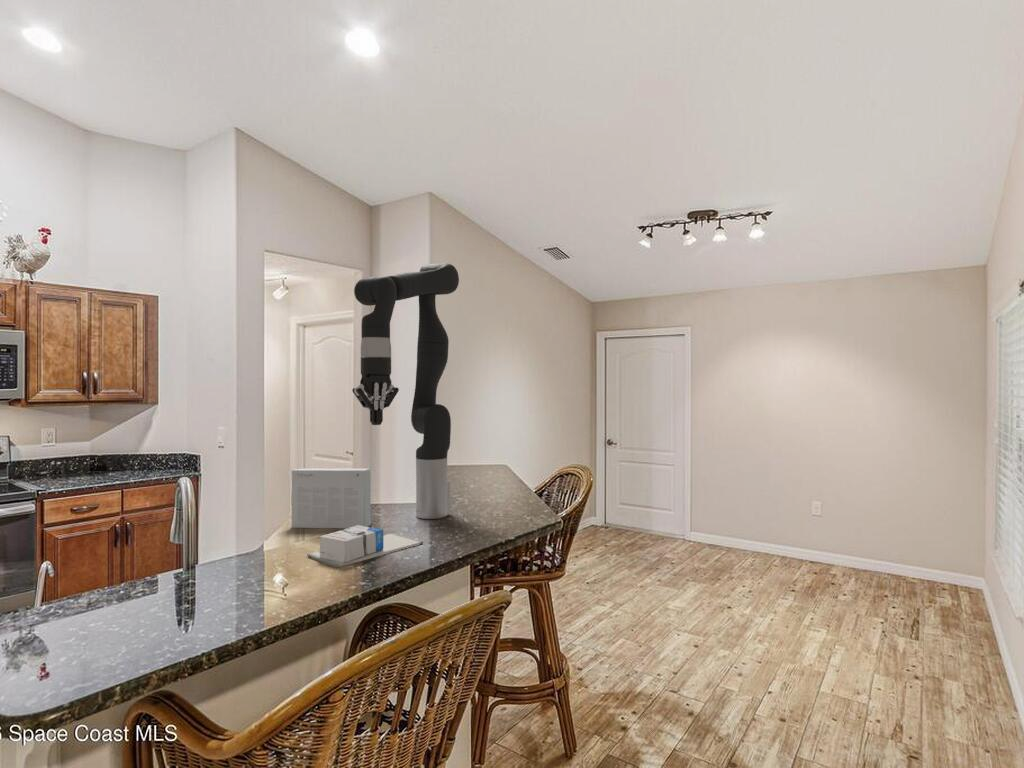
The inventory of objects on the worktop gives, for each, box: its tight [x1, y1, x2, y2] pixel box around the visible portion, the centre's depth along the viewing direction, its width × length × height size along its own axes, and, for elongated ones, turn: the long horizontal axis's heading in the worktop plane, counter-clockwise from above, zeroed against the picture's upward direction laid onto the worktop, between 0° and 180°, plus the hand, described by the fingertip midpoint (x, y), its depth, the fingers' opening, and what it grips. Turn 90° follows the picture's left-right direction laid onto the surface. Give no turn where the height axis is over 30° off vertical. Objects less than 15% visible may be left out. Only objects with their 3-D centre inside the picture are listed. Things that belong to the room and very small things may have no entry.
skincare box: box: [290, 467, 372, 529], centre depth 160 cm, size 21×5×16 cm, turn 84°
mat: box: [306, 532, 424, 569], centre depth 136 cm, size 24×12×1 cm, turn 139°
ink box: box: [319, 525, 384, 563], centre depth 132 cm, size 9×5×12 cm
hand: (376, 424), depth 146 cm, fingers closed
